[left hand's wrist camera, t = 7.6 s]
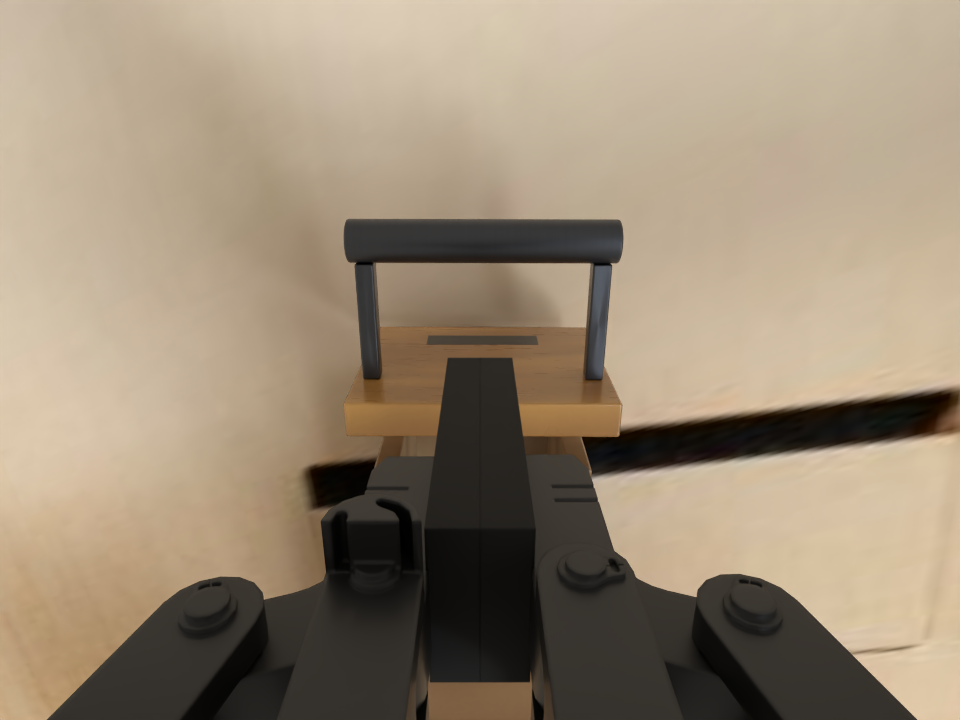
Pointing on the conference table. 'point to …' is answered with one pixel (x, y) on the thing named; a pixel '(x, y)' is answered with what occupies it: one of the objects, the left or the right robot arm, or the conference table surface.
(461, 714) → the cabinet
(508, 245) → the drawer
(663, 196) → the conference table surface
